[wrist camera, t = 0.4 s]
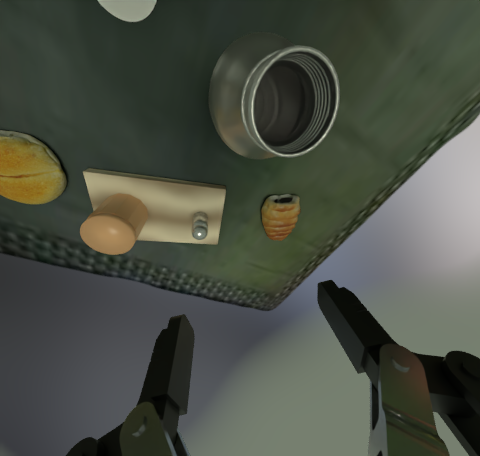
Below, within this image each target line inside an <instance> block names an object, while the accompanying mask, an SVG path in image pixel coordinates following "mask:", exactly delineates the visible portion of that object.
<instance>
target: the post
mask: <svg viewBox="0 0 480 456" xmlns="http://www.w3.org/2000/svg"><path fill="white" fill-rule="evenodd" d="M191 234H192V236H193V237H194V238H195V239H197V240H202V239H204V238H205V237H206V236H207V234H208V216H207V214H206V213H204V212H196V213H195V214H194V215H193V222H192V230H191Z"/></svg>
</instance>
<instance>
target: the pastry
mask: <svg viewBox="0 0 480 456" xmlns="http://www.w3.org/2000/svg"><path fill="white" fill-rule="evenodd" d="M299 200H300V198H299V197H298V196H296V195H290V194H285V195H281V196H277V195H273V196H270V197H268V198H267V199H266V201H265V202H264V204H263V207H262V210H261V212H262V223H263V226H264V228H265V232H266V234H267V236H268V237H269V238H270V239H272V240H280V241H282V240H283V239H284V238H286V237H287V236H288V234H289V233H291V231H292V229H293V228H294V227H295V223H296V222H297V220H298V217H297V215H298V214H299V213H300V206H299Z"/></svg>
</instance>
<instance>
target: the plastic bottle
mask: <svg viewBox="0 0 480 456" xmlns="http://www.w3.org/2000/svg"><path fill="white" fill-rule="evenodd" d="M339 101H340V85H339V80H338V76H337V73H336V71H335V68H334V66H333V64H332V63H331V62H330V60H329V59H328V57H327V56H325V55H324V54H323V53H322V52H321V51H319V50H317V49H315V48H312V47H308V46H295V45H294V44H292V43H291V42H290V41H289V40H287V39H285V38H283V37H281V36H279V35H276V34H274V33H268V32H255V33H249V34H246V35H244V36H242V37H240V38H238V39H237V40H235V41H234V42H233V43H232V44H230V45H229V46H228V47H227V48H226V49H225V51H224V52H223V53H222V55H221V56H220V57H219V59H218V61H217V63H216V66H215V68H214V70H213V73H212V77H211V81H210V87H209V97H208V103H209V110H210V114H211V117H212V121H213V124H214V126H215V128H216V131H217V133H218V134H219V136H220V137H221V139H222V140H223V141H224V143H225V144H226V145H227V146H228V147H229V148H230V149H232V150H233V151H234V152H236V153H237V154H239V155H242V156H244V157H247V158H251V159H266V158H272V157H275V156H280V157H289V158H292V157H297V156H301V155H303V154H306V153H308V152H309V151H311V150H313V149H314V148H315V147H316V146H318V145H319V144H320V143H321V142H322V141H323V139H324V138H325V137H326V136H327V134H328V133H329V131H330V129H331V128H332V126H333V123H334V121H335V119H336V116H337V112H338V108H339Z"/></svg>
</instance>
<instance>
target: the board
mask: <svg viewBox="0 0 480 456" xmlns="http://www.w3.org/2000/svg"><path fill="white" fill-rule="evenodd" d="M83 174H84V177H85V181H86V185H87V188H88V192H89V195H90V199H91V203H92V206H93V210H94V211H95V210H96V209H97V208H98V207H99V206H100V205H101V204H102V203H103V202H104V201H105V200H106V199H107V198H108V197H110V196H113V195H115V194H118V193H120V194H130V195H132V196H134V197H136V198H137V199H139V200H141V201H142V203H143V204H144V205H145V207H146V208H147V211H148V219H147V221H146V223H145V225H144V227H143V229H142V230H141V232H140V234H139V236H138V238H137V240H146V241H164V242H182V243H199V244H218V237H219V231H220V225H221V219H222V212H223V206H224V200H225V194H226V187H225V186H222V185H214V184H206V183H199V182H191V181H183V180H176V179H168V178H161V177H153V176H145V175H138V174H130V173H122V172H115V171H107V170H100V169H92V168H88V169H86V170H85V171H83ZM196 212H204V213H206V214H207V216H208V234H207V236H206V237H205V238H204V239H202V240H197V239H195V238H194V237H193V236H192V234H191V230H192V222H193V215H194V214H195V213H196Z"/></svg>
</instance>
